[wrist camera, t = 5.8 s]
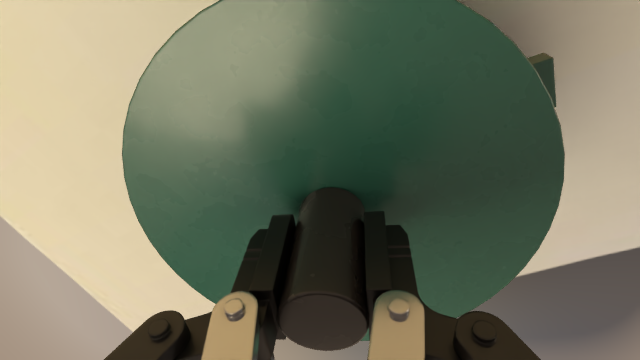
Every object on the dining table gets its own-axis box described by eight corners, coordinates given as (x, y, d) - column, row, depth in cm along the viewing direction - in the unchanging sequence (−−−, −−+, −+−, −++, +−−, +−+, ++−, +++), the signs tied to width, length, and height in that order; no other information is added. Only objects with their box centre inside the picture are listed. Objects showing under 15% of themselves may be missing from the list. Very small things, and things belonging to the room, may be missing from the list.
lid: (46, 80, 13) (-144, 161, 8) (529, -144, 9) (752, -261, 4) (250, 343, 21) (216, 467, 16) (561, 291, 17) (649, 439, 12)
